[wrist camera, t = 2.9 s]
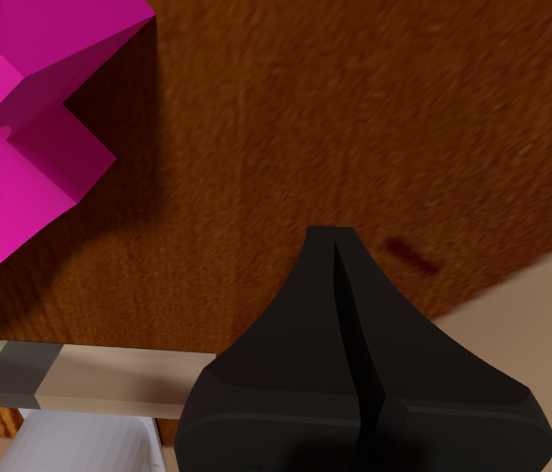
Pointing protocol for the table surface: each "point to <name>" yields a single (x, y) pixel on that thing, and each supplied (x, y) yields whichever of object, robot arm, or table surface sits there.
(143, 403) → the trap lane
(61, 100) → the toy block
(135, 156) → the table surface
